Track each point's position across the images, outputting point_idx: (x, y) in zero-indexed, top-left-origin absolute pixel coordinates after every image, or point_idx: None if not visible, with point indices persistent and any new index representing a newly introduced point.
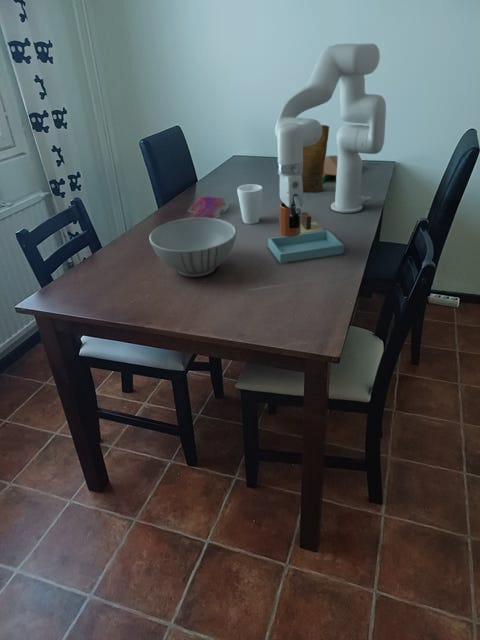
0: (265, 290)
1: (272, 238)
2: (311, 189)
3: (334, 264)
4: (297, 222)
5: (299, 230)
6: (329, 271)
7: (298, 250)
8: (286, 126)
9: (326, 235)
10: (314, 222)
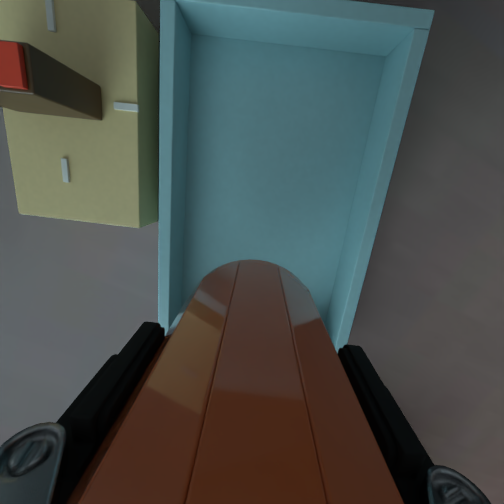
0: (461, 441)
1: (165, 333)
2: None
3: (459, 153)
4: (397, 406)
5: (312, 299)
6: (498, 208)
7: (260, 237)
8: None
9: (189, 20)
10: None
